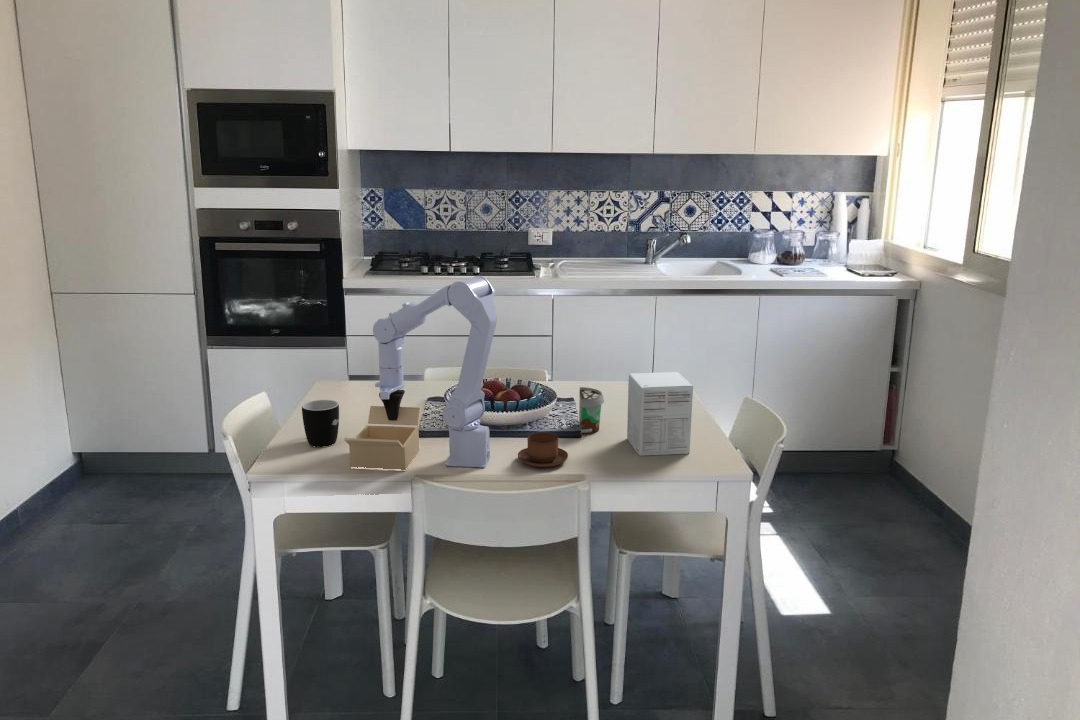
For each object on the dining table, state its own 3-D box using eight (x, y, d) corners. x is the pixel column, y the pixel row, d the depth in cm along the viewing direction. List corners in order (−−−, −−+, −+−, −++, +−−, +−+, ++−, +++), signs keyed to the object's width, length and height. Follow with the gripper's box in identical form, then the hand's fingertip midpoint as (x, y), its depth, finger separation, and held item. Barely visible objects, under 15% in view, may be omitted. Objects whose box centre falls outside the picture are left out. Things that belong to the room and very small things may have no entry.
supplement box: (691, 454, 220) (694, 385, 216) (638, 456, 218) (641, 387, 214) (675, 436, 233) (678, 371, 229) (625, 438, 231) (627, 372, 227)
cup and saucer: (507, 462, 215) (507, 437, 213) (542, 449, 223) (543, 426, 222) (542, 475, 207) (542, 450, 205) (578, 462, 215) (578, 438, 213)
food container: (605, 437, 232) (606, 400, 229) (581, 437, 232) (581, 400, 229) (601, 422, 244) (602, 386, 241) (578, 422, 244) (579, 386, 241)
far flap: (417, 424, 220) (417, 425, 221) (419, 407, 222) (420, 408, 223) (368, 422, 222) (368, 423, 222) (370, 405, 223) (371, 406, 224)
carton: (419, 450, 222) (418, 427, 220) (405, 471, 208) (404, 446, 207) (367, 448, 223) (366, 425, 221) (350, 469, 209) (349, 444, 208)
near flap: (398, 440, 202) (398, 442, 202) (402, 445, 206) (402, 447, 206) (344, 437, 203) (344, 440, 203) (349, 443, 207) (349, 445, 207)
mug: (336, 449, 222) (334, 410, 220) (300, 449, 222) (297, 410, 219) (346, 433, 234) (344, 396, 231) (311, 433, 234) (309, 396, 231)
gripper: (382, 358, 226) (384, 410, 229) (366, 373, 212) (368, 428, 215) (410, 359, 225) (411, 411, 228) (396, 374, 211) (397, 429, 214)
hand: (392, 419), depth 222 cm, fingers closed, pressing on far flap
